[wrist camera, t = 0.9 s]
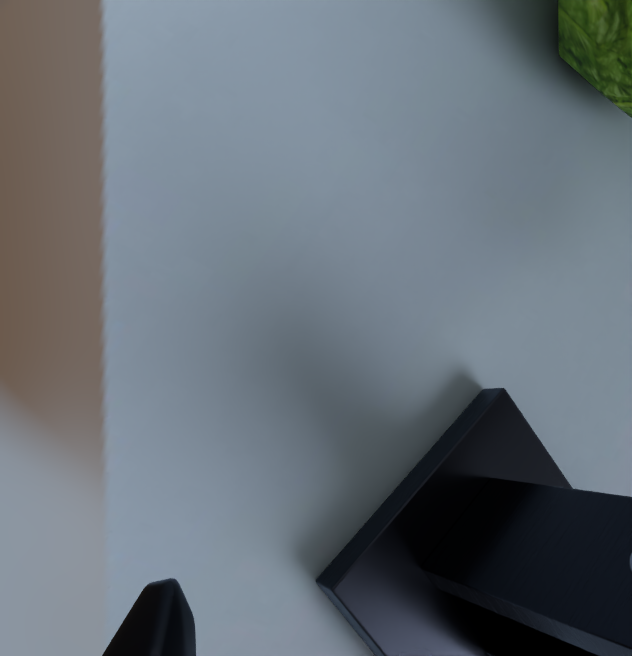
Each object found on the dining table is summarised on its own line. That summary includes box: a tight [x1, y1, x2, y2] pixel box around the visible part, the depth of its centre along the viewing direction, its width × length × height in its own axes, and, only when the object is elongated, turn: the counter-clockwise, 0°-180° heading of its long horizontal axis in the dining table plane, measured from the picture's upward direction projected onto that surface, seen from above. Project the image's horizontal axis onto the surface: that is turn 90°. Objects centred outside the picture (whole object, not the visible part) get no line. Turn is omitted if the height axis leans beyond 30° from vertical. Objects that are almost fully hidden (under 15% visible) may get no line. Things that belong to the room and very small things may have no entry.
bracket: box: [316, 388, 632, 656], centre depth 18 cm, size 10×9×11 cm
